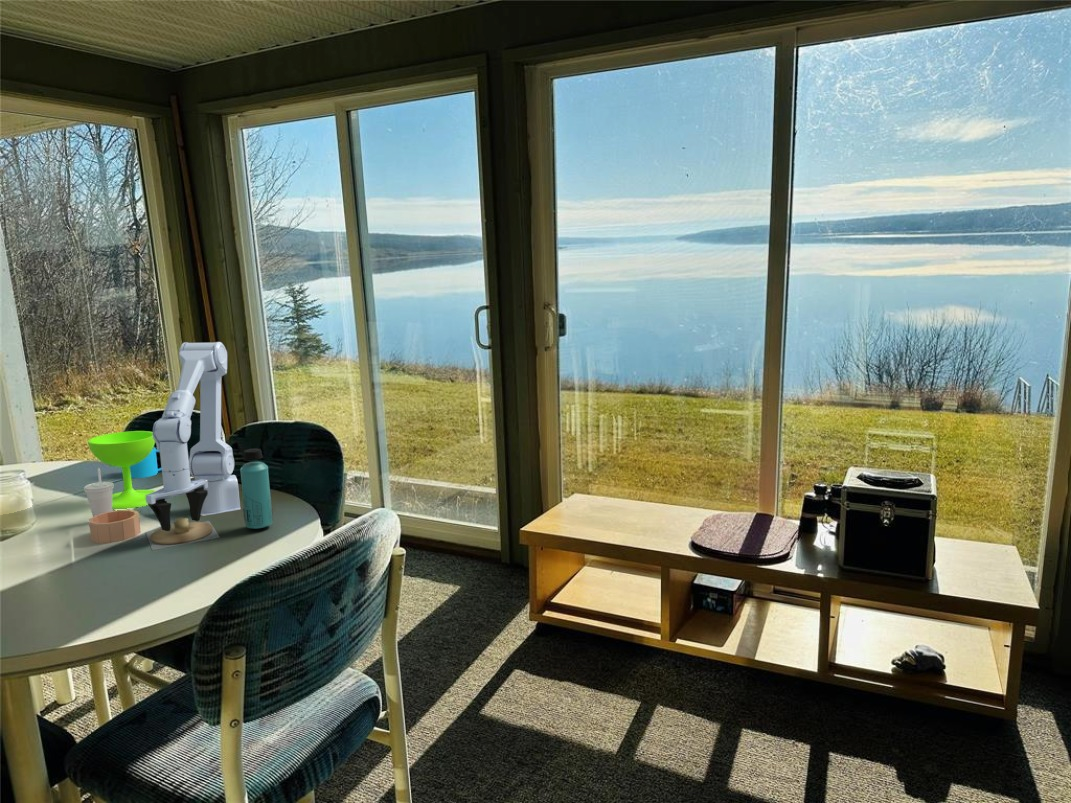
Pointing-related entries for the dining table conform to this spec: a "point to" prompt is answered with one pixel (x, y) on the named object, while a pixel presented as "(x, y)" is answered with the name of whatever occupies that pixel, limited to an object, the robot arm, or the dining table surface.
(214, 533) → the mat
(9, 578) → the dining table surface
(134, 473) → the mug
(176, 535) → the lid
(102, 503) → the smoothie
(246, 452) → the beverage bottle
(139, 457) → the wineglass
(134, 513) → the bowl
